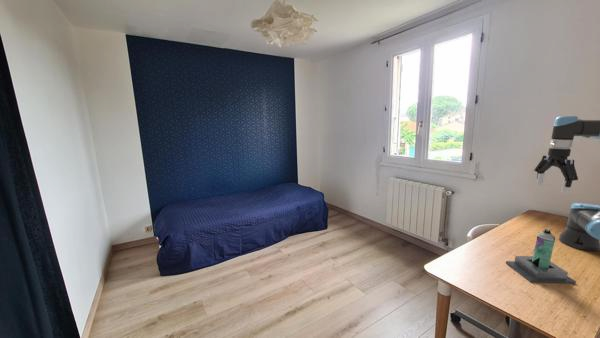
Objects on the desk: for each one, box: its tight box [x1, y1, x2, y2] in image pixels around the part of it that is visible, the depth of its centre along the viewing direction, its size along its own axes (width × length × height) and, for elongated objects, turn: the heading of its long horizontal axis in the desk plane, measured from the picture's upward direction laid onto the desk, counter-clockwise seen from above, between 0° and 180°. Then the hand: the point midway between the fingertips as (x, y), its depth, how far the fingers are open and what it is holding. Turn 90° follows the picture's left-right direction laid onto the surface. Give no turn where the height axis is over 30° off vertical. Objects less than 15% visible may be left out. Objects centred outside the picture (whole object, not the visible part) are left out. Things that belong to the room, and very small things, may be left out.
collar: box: [505, 255, 577, 285], centre depth 110 cm, size 18×14×4 cm
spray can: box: [532, 228, 556, 268], centre depth 108 cm, size 6×6×20 cm
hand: (551, 189), depth 125 cm, fingers open, 13 cm apart
